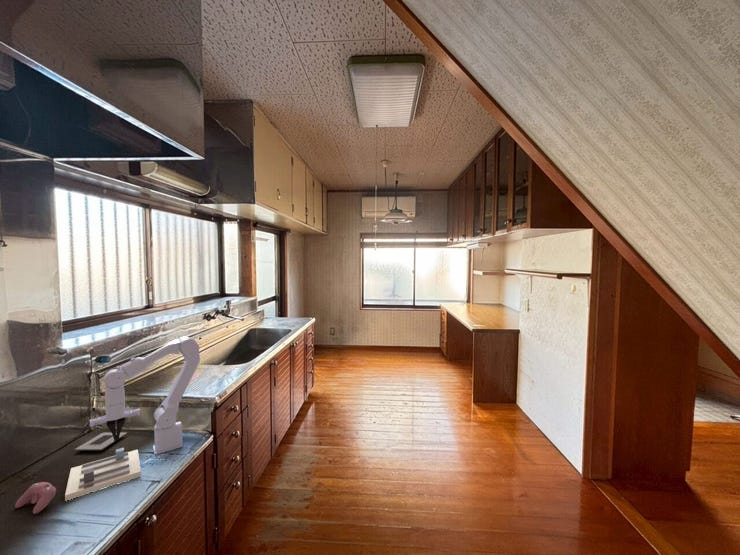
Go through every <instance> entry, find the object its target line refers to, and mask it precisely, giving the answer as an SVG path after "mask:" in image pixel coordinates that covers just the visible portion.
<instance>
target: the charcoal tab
mask: <svg viewBox="0 0 740 555" xmlns="http://www.w3.org/2000/svg"><path fill="white" fill-rule="evenodd" d="M91 481H94V468H93V469H90V470H86V471H84V483H88V482H91Z"/></svg>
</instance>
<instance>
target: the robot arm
mask: <svg viewBox="0 0 740 555" xmlns="http://www.w3.org/2000/svg"><path fill="white" fill-rule="evenodd" d="M170 354H171V355H180V354H182V357H183V359H184V362H183V365H182V367H181V369H180V370H179V372H178V375H177V377H176V378H175V381H174V383H173V384H172V386H171V389H170V391H169V392H168V395H167V396H166V398H165V399H164V400H163V401H162V402H161V403H160V405H159V406H158V407H157V408H156V409H155V411H154V412H153V418H154V420H155V421H156V422H155V425H154V430H153V432H154V444H153V446H152V449H153V453H154V455H160V454H163V453H165V452H169V451H172V450H177V449H179V448H182V447H184V445H183V444H184V443H183V439H184V437H183V425H182V422H181V421H176V420H177V414H178V411H179V405H180V402H181V400H182V398H183V397H184V396H183V395H184V394H185V392H186V391H187V388H188V386H189V383H190V382H191V380H192V378H193V376H194V374H195V372H196V370H197V368H198V366H199V364H200V362H201V357H200V345H199V344H198V342H197V341H196V340H195V339H193V338H191V337H190V336H187V335H183V336H180V337H178V338H176V339H173V340H171V341H170V342H168V343H166V344H165V345H162V346H161V347H160V348H157V349H155V350H154V351H153V352H150V353H149V354H148V355H146V356H144V357H140V356H137V357H131V358H130V360H129V361H127V362H125V363H124V364H122V365H117V366H116V367H115V368H114V369H110V370H108V371H107V372H106V373H105V374H104V377H103V381H104V384H105V386H104V387H105V388H104V390H105V392H104V405H105V406H104V407H105V415H102V416H99V417H95V418H91V419H89V428H91V427H94V426H97V425H101V424H106V427H107V428H108V430H109V431H110V433H112V435H113V438H114V441H115V442H117V441H119V440H120V439H119V436H120V433H121V431H122V429H123V427H124V425H125V422H126V418H130V417H135V416H136V417H137V416H138V417H139V416H141V409H140V408H136V409H127V410H126V394H125V392H126V391H125V390H126V389H125V387H124V386H125V385H124V384H125V382H126V381H127V380H130V379H131V378H133V377H136V376H137V375H139V374H140V373H143V372H144V371H146V370H147V369H148V366H149V365H150V364H153V363H154V362H156V361H158V360H160V359H163V358H164V357H166V356H168V355H170ZM116 433H117V434H116Z"/></svg>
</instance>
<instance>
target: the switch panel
mask: <svg viewBox="0 0 740 555" xmlns="http://www.w3.org/2000/svg"><path fill="white" fill-rule="evenodd" d="M139 456H140V455H139V450H138V449H134V450H131V451H126V452H124V458H123V459H119V460H116V454H115V455H112V456H108V457H105V458H101V459H98V460H94V461H90V462H87V463H83V464H81V465H78V466H74V467H71V468H70V472H69V476H68V480H67V485H66V489H65V494H64V501H66V502H68V501H67V500H69V501H72V500H74V499H73V498H76V497H79V496H82V495H84V494H87V493H89V492H92V491H95V490H98V489H101V488H104V487H108V486H111V485H114V484H117V483H121V482H124V481H128V480H131V479H134V478H137V477H140V476H141V477H142V470H141V463H140V457H139ZM93 468H94V481H91V482H88V483H84V471H86V470H90V469H93ZM141 477H140V478H141ZM137 479H138V478H137ZM134 480H135V479H134ZM131 481H132V480H131ZM128 482H129V481H128ZM82 497H83V496H82ZM79 498H80V497H79ZM71 499H72V500H71ZM76 499H77V498H76Z"/></svg>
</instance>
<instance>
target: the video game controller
mask: <svg viewBox="0 0 740 555" xmlns="http://www.w3.org/2000/svg"><path fill="white" fill-rule="evenodd" d="M56 493H57V488H56V487H55V486H53V485H52V484H51V483H50V482H46V481H40V482H37V483H32V485H31V486H29V487H28V488H27V489H26V490H25V492H24V493H23V494H22V495H21V496H20V497H19V498H18V499H17V501H16V502H15V505H14V507H15V508H16V509H19V508H21V507H23V506H24V505H25V504H27V503H28V502H29V501H30V500H31V501H30V502H31V504H35V506H34V507H33V510H32V514H35V515H36V514H39V513H40V512H41V511H43V510H44V509H45V508H46V507H47V506H48V505H49V503H50V502H51V500H52V499H54V497H55V496H56Z"/></svg>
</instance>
